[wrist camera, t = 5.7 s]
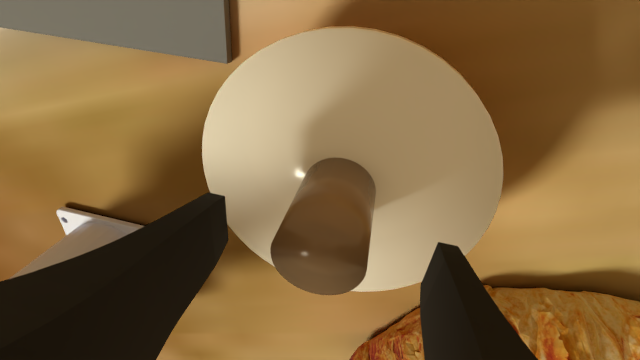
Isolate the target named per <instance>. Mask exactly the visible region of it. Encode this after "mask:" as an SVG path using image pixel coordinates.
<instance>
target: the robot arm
mask: <svg viewBox="0 0 640 360" xmlns="http://www.w3.org/2000/svg"><path fill="white" fill-rule="evenodd" d="M57 215H58V217H59V219H60V222H61V224H62V226H63V228H64V231H65V233H66V236H65V237H64V238H62V239H61V240H60V241H58V242H57V243H56V244H54V245H53V246H52V247H50V248H49V249H48V250H46V251H45V252H44V253H42V254H41V255H40V256H38V257H37V258H36V259H35V260H33V261H32V262H31V263H29V264H28V265H27V266H25V267H24V268H23V269H21V270H20V271H19V272H17V273H16V274H15V275H13V276H12V277H11V278H9V279H8V280H4V281H1V282H0V360H156V359H157V357H158V355H159V353H160V351H161V350H162V348H163V346H164V344H165V342H166V340H167V339H168V337H169V335H170V333H171V332H172V330H173V328H174V327H175V325H176V324H177V322H178V320H179V319H180V318H181V316H182V315H183V313H184V312H185V310H186V309H187V307H188V306H189V304H190V303H191V301H192V300H193V298H194V297H195V295H196V294H197V293H198V291H199V290H200V288H201V287H202V285H203V284H204V282H205V281H206V279H207V278H208V276H209V275H210V273H211V272H212V270H213V269H214V267H215V266H216V264H217V262H218V260H219V258H220V256H221V254H222V252H223V250H224V248H225V246H226V244H227V242H228V228H227V215H226V202H225V196H223V195H218V194H213V193H207V194H205V195H202V196H201V197H199V198H197V199H195V200H193V201H191V202H189V203H188V204H186V205H184V206H182V207H180V208H178V209H177V210H175V211H173V212H171V213H169V214H167V215H165V216H164V217H162V218H160V219H158V220H156V221H154V222H152V223H150V224H148V225H146V226H143V225H138V224H134V223H130V222H126V221H122V220H117V219H113V218H109V217H105V216H100V215H96V214H92V213H88V212H83V211H79V210H75V209H71V208H67V207H61V208H59V209H58V210H57ZM420 319H421V330H422V340H423V349H424V359H425V360H538V359H537V358H536V356H535V355H534V354H533V353H532V351H531V350H530V349H529V348H528V347H527V345H526V344H525V343H524V342H523V340H522V339H521V338H520V336H519V335H518V334H517V332H516V331H515V330H514V328H513V327H512V326H511V324H510V323H509V322H508V321H507V319H506V318H505V316H504V315H503V314H502V312H501V311H500V309H499V308H498V306H497V305H496V304H495V302H494V301H493V299H492V298H491V296H490V295H489V293H488V292H487V290H486V289H485V287H484V286H483V284H482V283H481V281H480V280H479V278H478V277H477V275H476V273H475V272H474V270H473V269H472V267H471V266H470V264H469V262H468V261H467V259H466V258H465V256H464V255H463V253H462V251H461V250H460V248H459V247H458V246H455V245H450V244H446V243H441V242H438V244H437V246H436V249H435V251H434V253H433V256H432V258H431V261H430V263H429V266H428V268H427V271H426V273H425V275H424V278H423V280H422V283H421V292H420Z"/></svg>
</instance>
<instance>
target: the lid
mask: <svg viewBox="0 0 640 360" xmlns="http://www.w3.org/2000/svg"><path fill="white" fill-rule="evenodd" d="M202 159H203V167H204V173H205V177H206V181H207V185H208V188H209V190H210V193H213V194H218V195H223V196H225V202H226V215H227V224H228V225H229V227H230V228H231V229H232V230H233V232H234V233H235V234H236V235H237V236H238V237H239V239H240V240H241V241H243V242H244V243H245V244H246V245H247V246H248V247H249V248H250V249H251V250H252V251H253V252H255V253H256V254H257V255H258V256H260V257H261V258H262V259H264V260H265V261H267V262H268V263H270V264H271V265H273V266H274V267H275V268H276V269H277V271H278V272H279V273H280V274H281V275H282V276H283V277H284V278H285V279H286V280H287V281H288V282H290V283H291V284H293V285H294V286H296V287H298V288H300V289H302V290H305V291H308V292H311V293H315V294H320V295H338V294H343V293H346V292H349V291H360V292H368V291H384V290H391V289H397V288H401V287H406V286H410V285H413V284H416V283H419V282H422V280H423V278H424V275H425V273H426V271H427V268H428V266H429V263H430V261H431V258H432V256H433V253H434V251H435V249H436V246H437V244H438V242H441V243H446V244H450V245H455V246H458V247H459V248H460V250H461V251H462V253H463V255H464V256H465V255H466V254H467V253H468V252H469V251H470V250H471V249H472V248H473V247H474V246H475V245H476V244H477V243H478V242H479V240H480V239H481V237H482V236H483V234H484V233H485V232H486V230H487V229H488V227H489V225H490V223H491V221H492V219H493V217H494V215H495V213H496V210H497V206H498V203H499V200H500V197H501V191H502V184H503V156H502V151H501V146H500V142H499V137H498V134H497V132H496V129H495V127H494V124H493V122H492V119H491V117H490V115H489V113H488V112H487V110H486V108H485V107H484V105H483V103H482V102H481V100H480V98H479V97H478V95H477V94H476V92H475V91H474V90H473V88H472V87H471V86H470V85H469V84H468V83H467V81H466V80H465V79H464V78H463V77H462V75H461V74H460V73H459V72H458V71H457V70H455V69H454V68H453V67H452V66H451V65H450V64H448V63H447V62H446V61H445V60H444V59H443V58H441V57H440V56H438V55H437V54H435V53H433V52H432V51H430V50H429V49H427V48H426V47H424V46H422V45H420V44H418V43H416V42H414V41H411V40H409V39H407V38H404V37H402V36H400V35H396V34H393V33H389V32H386V31H382V30H378V29H373V28H365V27H357V26H330V27H323V28H318V29H312V30H306V31H303V32H300V33H297V34H294V35H291V36H288V37H285V38H283V39H281V40H279V41H277V42H275V43H273V44H271V45H269V46H267V47H265V48H263V49H261V50H259V51H258V52H257V53H255V54H254V55H252V56H251V57H250V58H248V59H247V60H246V61H244V62H243V63H242V64H241V65H240V66H239V67H238V68H237V69H236V70H235V71H234V72H233V73H232V74H231V75H230V76H229V77H228V78H227V80H226V81H225V82H224V84H223V85H222V87H221V88H220V89H219V91H218V92H217V94H216V96H215V98H214V100H213V102H212V104H211V106H210V109H209V112H208V115H207V118H206V122H205V126H204V132H203V138H202Z"/></svg>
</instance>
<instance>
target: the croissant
mask: <svg viewBox="0 0 640 360" xmlns="http://www.w3.org/2000/svg"><path fill="white" fill-rule="evenodd" d="M484 287H485V289H486V290H487V292H488V293H489V295H490V296H491V298H492V299H493V301H494V302H495V304H496V305H497V306H498V308H499V309H500V311H501V312H502V314H503V315H504V316H505V318H506V319H507V321H508V322H509V323H510V324H511V326H512V327H513V328H514V330H515V331H516V332H517V334H518V335H519V336H520V338H521V339H522V340H523V342H524V343H525V344H526V345H527V347H528V348H529V349H530V350H531V351H532V353H533V354H534V355H535V356H536V358H537V359H538V360H640V302H639V301H634V300H629V299H624V298H620V297H616V296H612V295H608V294H602V293H595V292H587V291H581V292H571V291H563V290H550V289H547V288H524V289H519V288H507V287H504V288H493V289H492V287H490V286H489V285H484ZM350 360H425V359H424V349H423V340H422V330H421V319H420V308H417V309H416V310H414V311H413V312H411V313H409V314H408V315H406V316H405V317H404V318H403V319H402V320H401V321H400V322H398V323H396V324H394V325H392V326H391V327H390V328H388V329H387V330H386V331H385V332H383V333H381V334H379V335H378V336H376V337H375V338H373V339H371V340H369V341H367V342H365V343H363V344H362V345H361V346H360V347H358V348H357V350H356V351H355V352H354V354H353V355H352V356H351V358H350Z"/></svg>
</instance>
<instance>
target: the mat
mask: <svg viewBox="0 0 640 360" xmlns="http://www.w3.org/2000/svg"><path fill="white" fill-rule="evenodd" d="M0 27H2V28H8V29H14V30H20V31H27V32H33V33H39V34H45V35H52V36H58V37H64V38H70V39H77V40H83V41H89V42H95V43H102V44H108V45H114V46H120V47H127V48H133V49H139V50H145V51H152V52H158V53H164V54H170V55H177V56H183V57H189V58H195V59H202V60H208V61H214V62H220V63H230V62H232V55H231V35H230V14H229V0H0Z"/></svg>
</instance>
